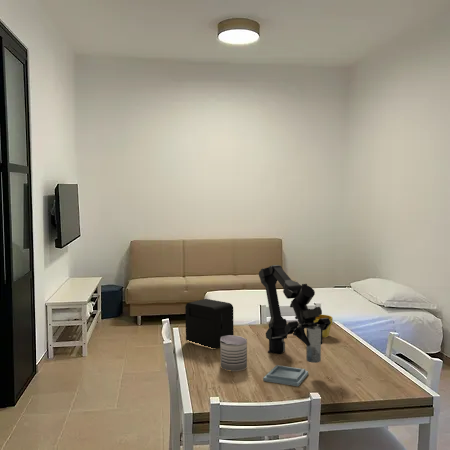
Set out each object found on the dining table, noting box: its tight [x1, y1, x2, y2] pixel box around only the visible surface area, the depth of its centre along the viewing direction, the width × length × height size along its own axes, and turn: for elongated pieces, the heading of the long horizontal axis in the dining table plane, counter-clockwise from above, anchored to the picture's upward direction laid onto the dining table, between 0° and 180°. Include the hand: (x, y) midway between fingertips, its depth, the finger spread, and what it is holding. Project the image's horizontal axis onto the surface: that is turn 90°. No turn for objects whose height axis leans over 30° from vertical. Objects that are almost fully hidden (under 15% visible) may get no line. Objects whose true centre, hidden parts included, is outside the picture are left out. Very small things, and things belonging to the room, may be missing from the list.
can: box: [219, 335, 248, 372], centre depth 204 cm, size 11×11×12 cm
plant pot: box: [313, 314, 334, 338], centre depth 248 cm, size 10×10×10 cm
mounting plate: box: [262, 364, 309, 387], centre depth 191 cm, size 14×14×2 cm
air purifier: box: [184, 298, 235, 349], centre depth 237 cm, size 20×15×20 cm
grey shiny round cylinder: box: [305, 326, 322, 364], centre depth 192 cm, size 6×6×13 cm
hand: (315, 344), depth 191 cm, fingers closed on grey shiny round cylinder, 6 cm apart
